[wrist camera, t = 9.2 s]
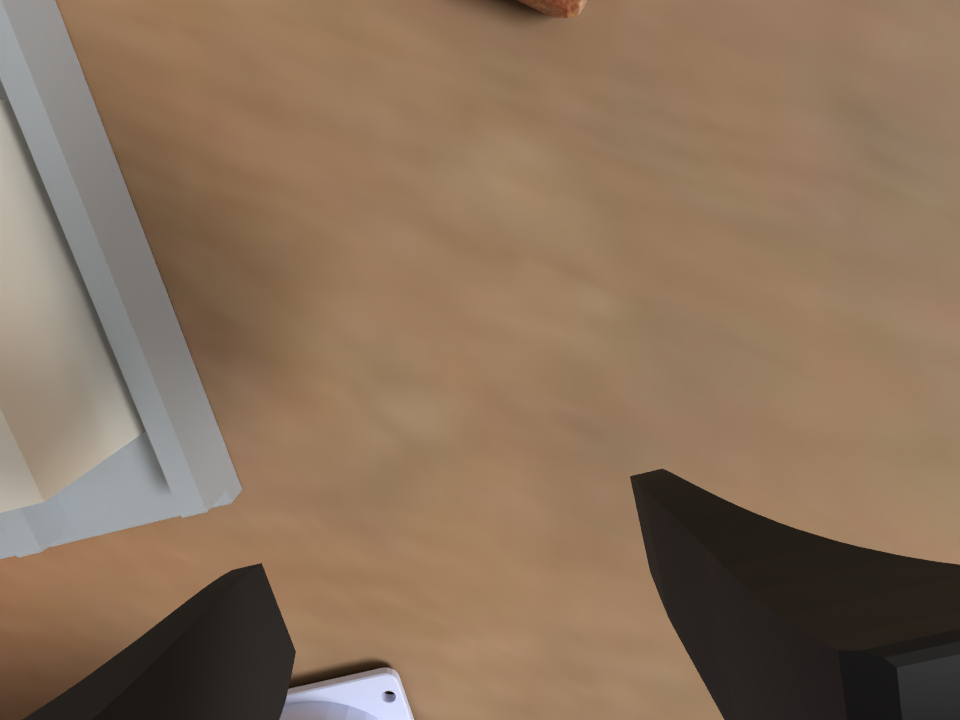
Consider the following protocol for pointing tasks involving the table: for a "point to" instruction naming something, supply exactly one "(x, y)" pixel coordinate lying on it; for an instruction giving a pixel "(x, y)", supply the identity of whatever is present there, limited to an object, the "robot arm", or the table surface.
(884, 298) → the table surface
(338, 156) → the table surface
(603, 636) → the table surface
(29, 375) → the white rectangular block
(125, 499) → the grey ridged tray
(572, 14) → the ceramic shard
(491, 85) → the table surface
